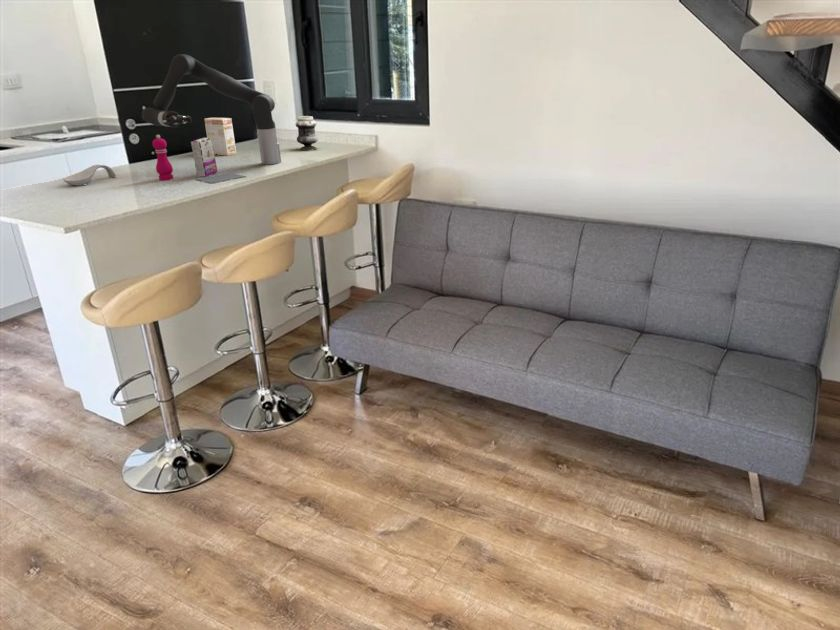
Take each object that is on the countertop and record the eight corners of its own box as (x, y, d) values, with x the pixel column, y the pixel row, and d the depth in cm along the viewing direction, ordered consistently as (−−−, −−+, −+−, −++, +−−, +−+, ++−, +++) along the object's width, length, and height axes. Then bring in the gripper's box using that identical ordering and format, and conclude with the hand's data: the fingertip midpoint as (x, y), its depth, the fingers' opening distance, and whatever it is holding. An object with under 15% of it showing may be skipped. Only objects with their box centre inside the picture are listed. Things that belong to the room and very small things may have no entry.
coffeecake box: (237, 153, 349) (231, 117, 341) (227, 155, 343) (221, 119, 335) (219, 152, 356) (213, 117, 348) (209, 154, 351) (203, 118, 343)
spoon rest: (76, 188, 274) (72, 172, 271) (59, 187, 278) (55, 171, 276) (121, 178, 293) (118, 163, 290) (104, 177, 298) (101, 161, 295)
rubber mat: (230, 173, 295) (229, 172, 294) (246, 176, 286) (246, 176, 286) (195, 179, 283) (195, 179, 283) (211, 183, 274) (211, 182, 274)
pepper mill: (178, 177, 289) (169, 133, 281) (167, 180, 283) (158, 135, 274) (165, 177, 291) (156, 133, 283) (154, 180, 285) (145, 135, 277)
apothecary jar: (316, 150, 351) (313, 117, 344) (295, 151, 351) (292, 118, 344) (320, 147, 362) (317, 115, 355) (299, 147, 362) (296, 115, 355)
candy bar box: (208, 172, 299) (202, 137, 293) (217, 172, 298) (212, 137, 292) (196, 177, 289) (190, 141, 283) (206, 177, 288) (200, 141, 282)
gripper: (153, 112, 295) (170, 114, 285) (181, 109, 305) (198, 111, 294) (156, 128, 299) (173, 130, 288) (184, 125, 308) (201, 127, 297)
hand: (186, 120), depth 291 cm, fingers open, 4 cm apart
